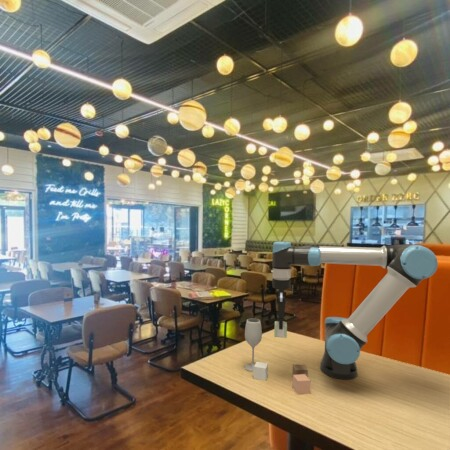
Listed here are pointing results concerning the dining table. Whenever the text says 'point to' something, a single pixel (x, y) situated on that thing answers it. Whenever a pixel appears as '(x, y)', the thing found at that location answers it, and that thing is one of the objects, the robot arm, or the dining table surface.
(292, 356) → the dining table surface
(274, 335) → the sage cube
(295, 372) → the walnut cube
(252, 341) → the wineglass
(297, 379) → the terracotta cube
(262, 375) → the white cube
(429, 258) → the robot arm
